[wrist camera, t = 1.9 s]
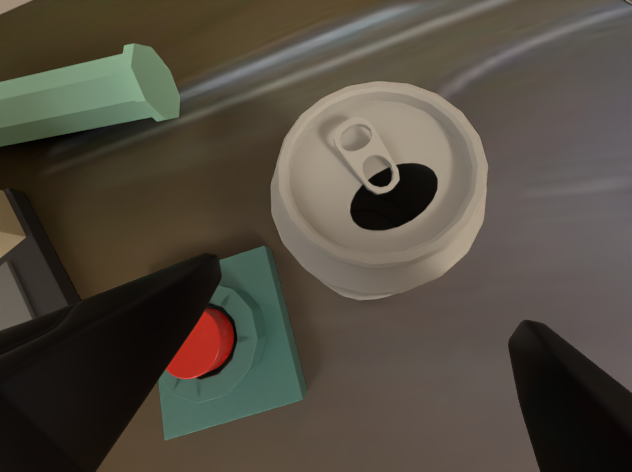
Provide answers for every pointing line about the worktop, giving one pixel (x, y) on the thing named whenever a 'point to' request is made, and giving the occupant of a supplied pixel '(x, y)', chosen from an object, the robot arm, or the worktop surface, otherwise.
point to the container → (88, 96)
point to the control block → (240, 353)
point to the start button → (204, 346)
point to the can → (379, 189)
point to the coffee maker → (28, 265)
